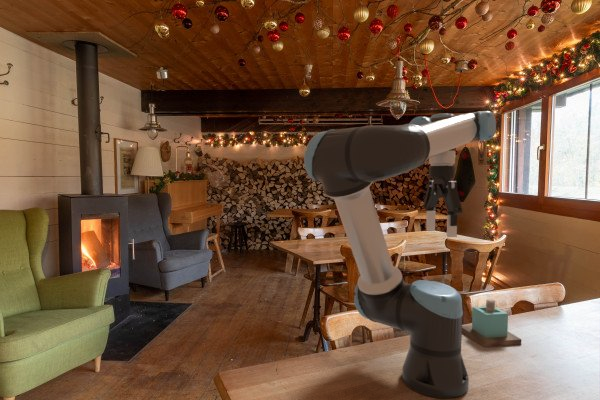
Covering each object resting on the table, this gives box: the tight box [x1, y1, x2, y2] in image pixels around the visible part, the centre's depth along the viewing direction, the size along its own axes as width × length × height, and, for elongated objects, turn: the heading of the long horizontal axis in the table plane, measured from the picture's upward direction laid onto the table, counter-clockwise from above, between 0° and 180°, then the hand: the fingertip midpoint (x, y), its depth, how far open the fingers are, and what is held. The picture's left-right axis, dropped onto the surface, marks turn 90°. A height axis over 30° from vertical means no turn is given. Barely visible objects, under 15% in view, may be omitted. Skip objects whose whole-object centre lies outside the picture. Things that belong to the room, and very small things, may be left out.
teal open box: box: [471, 305, 509, 338], centre depth 119 cm, size 7×7×7 cm
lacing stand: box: [462, 298, 522, 348], centre depth 119 cm, size 12×12×12 cm
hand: (440, 233), depth 122 cm, fingers open, 13 cm apart
